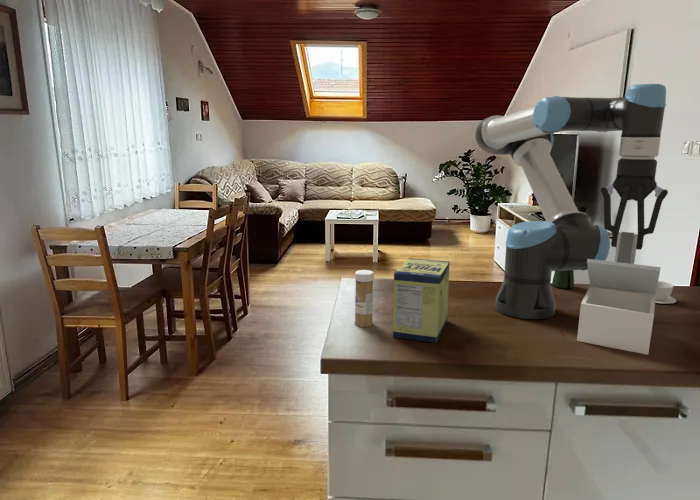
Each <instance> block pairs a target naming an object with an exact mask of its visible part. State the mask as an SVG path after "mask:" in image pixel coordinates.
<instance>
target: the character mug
mask: <svg viewBox="0 0 700 500" xmlns="http://www.w3.org/2000/svg"><path fill="white" fill-rule="evenodd" d="M574 271H575V270H567V271H553V272H554V273H553V277H552V281H551V285H553V286H554V287H557V288H559V289H560V288H561V289H568V286H569V288H570V289H572V288H573V289H574V286H575V280H574V279H575V276H574V275H575V274H574Z"/></svg>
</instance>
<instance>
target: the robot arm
mask: <svg viewBox="0 0 700 500" xmlns="http://www.w3.org/2000/svg"><path fill="white" fill-rule="evenodd" d="M666 99H667V88H666V86H665V85H664V84H661V83H641V84H640V83H639V84H632V85H630V86H628V87H627V89H626V91H625V95H624V96H621V97H572V96H559V95H556V96H555V95H554V96H547V97H545V96H544V97H543V98H541V99H539V100H538V102H537V103H536V104H535V105H534V106H531V107H528V108H525V109H522V110H520V111H515V112H513V113H509V114H506V115H491V116H489V117H486V118H484V119H483V120H480V122H479V124H478V125H477V127H476V129H475V133H474V134H475V135H474V139H475V142H476V144H477V145H478V147H479V148H480V149H481V150H482V151H484V152H485V153H487V154H490V155H501V156H506V155H508V156H510V157H511V159H512V160H513V163H514V164H515V165H516V166H518V167H521V168H522V171H523V173H524V175H525V177H526V179H527V182H528V184H529V186H530V189H531V190H532V193H533V196H534V197H535V199H536V202H537V204H538V206H539V208H540V211H541V213H542V215H543V217H544V219H545V220H538V221H536V220H531V221H522V222H518V223H516V224H513V225H512V226H511V227H509V229H508V231H507V235H506V241H505V260H504V262H505V263H504V273H503V274H504V275H503V281H502V283H501V286H500V289H499V290H498V293H497V294H496V297H495V301H494V302H495V305H494V307H495V309H496V311H498V312H499V313H501V314H503V315H506V316H509V317H513V318H518V319H524V320H544V319H549V318H551V317H553V316H555V314H556V307H557V306H556V302H555V297H554V294H553V290H552V281H551V280H552V273H553V272H555V271H567V270H573V271H588V266H587V259H594V260H603V261H607V259H608V256H609V252H610V248H615V256H614V262H617V259H618V253H619V247H620V240H621V234H622V232H620V229H621V227H622V226H621V225H622V222H623V218H624V215H625V211H626V207H627V203H628V201H635V202H636V205H637V233H634V238H633V245H632V253H631V261H630V264H635V262H636V255H637V250H638V251H639V250H640V251H641V250H642V249H643V245H644V239H645V238H644V237H645V236H646V235H651V234H653V233H654V231H655V228H656V225H657V221H658V218H659V214H660V212H661V211H660V210H661V207H662V203H663V201H664V199H665V198H666V197H667V196H668V194H669V191H668V190H667V188H666V189H665V188H663V187H661V186H658V184H657V181H656V174H657V165H658V161H657V159H655V158H657V157H658V156H659V150H660V144H661V134H662V129H663V123H664V121H663V120H664V115H665V108H666V106H667V103H666ZM570 131H571V132H574V131H576V132H577V131H578V132H598V133H601V132H602V133H607V132H618V131H619V132H620V131H621V134H620V144H619V150H618V151H619V152H618V155H619V157H621V158H619V160H617V168H616V177H615V179H614V180H613V182H612V184H609V185H607V186H602V187H601V188H600V192H601V195H602V197H603V222H604V225H603V226H601V225H599V224H594V225H593V224H592V222H591V220H590V218H589V216H588V214H587V213H586V212H582V211H579V210H578V208H577V206H576V204H575V202H574V200H573V198H572V196H571V193H570V192H569V190H568V188H567V186H566V184H565V182H564V180H563V177H562V176H561V174H560V172H559V170H558V168H557V166H556V164H555V161H554V160H553V157H552V155H551V154H550V153H551V151H552V147H553V145H554V141H555V136H554V134H555V133H556V134H557V133H559V132H570ZM614 189H615V191H616V193H617V194H618V196H619V197H620V201H619V206H618V208H617V213H616V216H615V220H614V225H613V224H612V197H611V195H612V194H613V190H614ZM652 192H655V193H654V197H656V199H655V201H654V204H653V205H654V206H653V209H652V213H651V216H650V220H649V224H648V227H646V228H645V199H647V198H648V197H649V196H650V195H651V194H652ZM608 231H609V232H611V240H610V235H609V233H608Z"/></svg>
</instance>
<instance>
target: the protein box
mask: <svg viewBox="0 0 700 500" xmlns="http://www.w3.org/2000/svg"><path fill="white" fill-rule="evenodd" d="M450 264H451V262H450V261H447V260H446V261H444V260H436V259H435V260H432V259H425V258H424V259H421V258H412V257H411V258H410V257H408V259H407V260H406V261H405V262H403V264H402V265H401V266H400V267H399V268H398V269H397V270H395V271H394V272H393V309H392V311H393V312H392V337H393V338H398V339H405V340H412V341H421V342H428V343H432V344H433V343H434V344H437V343H438V341H439V338H440V336H441V334H442V332H443V331H444V328H445V327H446V323H447V321H448V310H449V309H448V305H449V303H448V302H449V284H450V283H449V281H450Z"/></svg>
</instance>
